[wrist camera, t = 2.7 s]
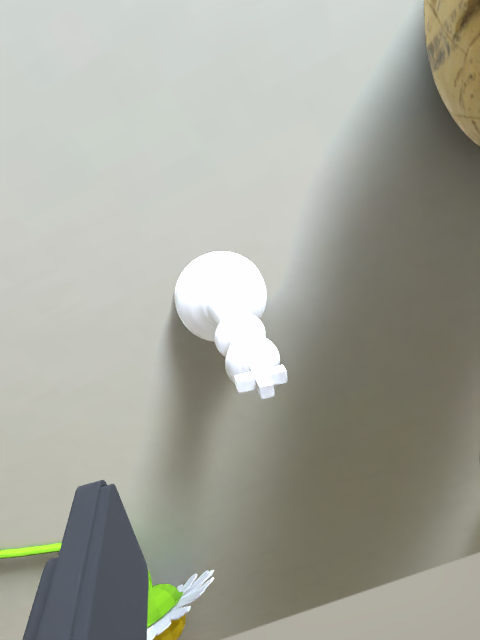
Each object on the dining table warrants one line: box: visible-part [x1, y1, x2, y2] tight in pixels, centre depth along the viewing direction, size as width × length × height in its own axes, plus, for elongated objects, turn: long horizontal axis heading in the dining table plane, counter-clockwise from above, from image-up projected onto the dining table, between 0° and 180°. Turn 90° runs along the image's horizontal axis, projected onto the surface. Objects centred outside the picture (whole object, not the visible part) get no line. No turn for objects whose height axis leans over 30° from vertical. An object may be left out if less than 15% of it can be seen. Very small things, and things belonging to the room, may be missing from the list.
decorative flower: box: [0, 543, 214, 640], centre depth 25 cm, size 8×6×15 cm
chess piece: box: [174, 251, 288, 399], centre depth 17 cm, size 5×5×10 cm
